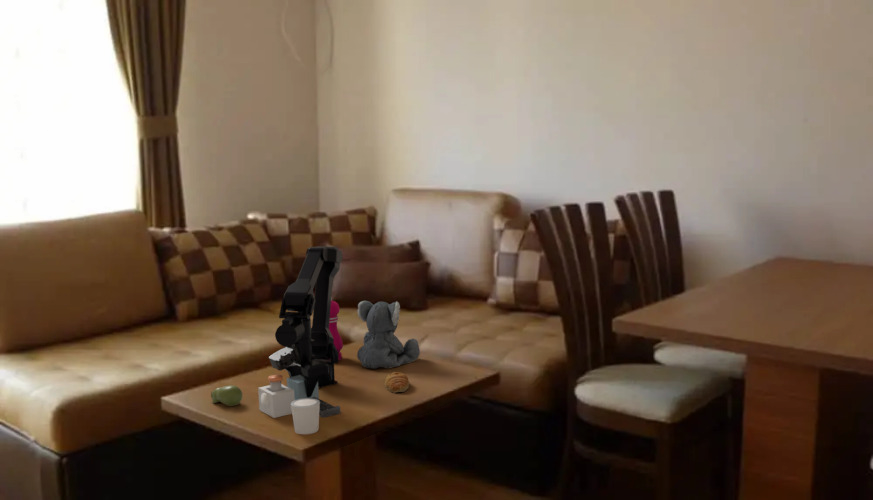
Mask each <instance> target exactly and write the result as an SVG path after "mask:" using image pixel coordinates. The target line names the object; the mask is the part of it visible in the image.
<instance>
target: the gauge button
mask: <svg viewBox="0 0 873 500" xmlns="http://www.w3.org/2000/svg"><path fill="white" fill-rule="evenodd" d="M267 379H268V382H269V385H270V391H271V392H276V391H281V390H282V387H281V384H282V381H283V375H282V374H272V375H269V376H268V377H267Z"/></svg>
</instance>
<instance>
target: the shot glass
mask: <svg viewBox="0 0 873 500" xmlns="http://www.w3.org/2000/svg"><path fill="white" fill-rule="evenodd" d="M291 408H292V414H291V415H292V421H293V427H294V428H293V429H294V432H295V433H296V434H298V435H312V434H315V433H317V432H318V431H319V424H320V421H319V420H320V415H319V408H320V402H319V400H317V399H312V398H304V399H298V400H295V401H293V402H292V403H291Z"/></svg>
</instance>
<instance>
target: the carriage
mask: <svg viewBox="0 0 873 500" xmlns="http://www.w3.org/2000/svg"><path fill="white" fill-rule="evenodd" d="M286 387H289V388H291V389H293V390H294V400H298V399H304V398H313V397H316V398H318V399H320V398H319V397H320V394H319V393H320V391H319V388H318V382H317V384H316V387H315V389H314V391H313V393H312V396H311V397H307V395H306V390H305V384H304V379H303V378H302V377H301V376H300V375H298V376H293V377H290V376H288V377H286Z"/></svg>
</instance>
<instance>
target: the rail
mask: <svg viewBox="0 0 873 500" xmlns="http://www.w3.org/2000/svg"><path fill="white" fill-rule="evenodd" d="M312 399H317V400H319V402H320V408H319V416H320V418H322V419H323V418H327V417H331V416H332V417H333V416H335V415H339V414H341V406H340V405H335V406H334V405H332V404H331V403H328V402H326V401H324V400H322V399H320V398H319V399H318V398H316V397H313V398H312Z"/></svg>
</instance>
